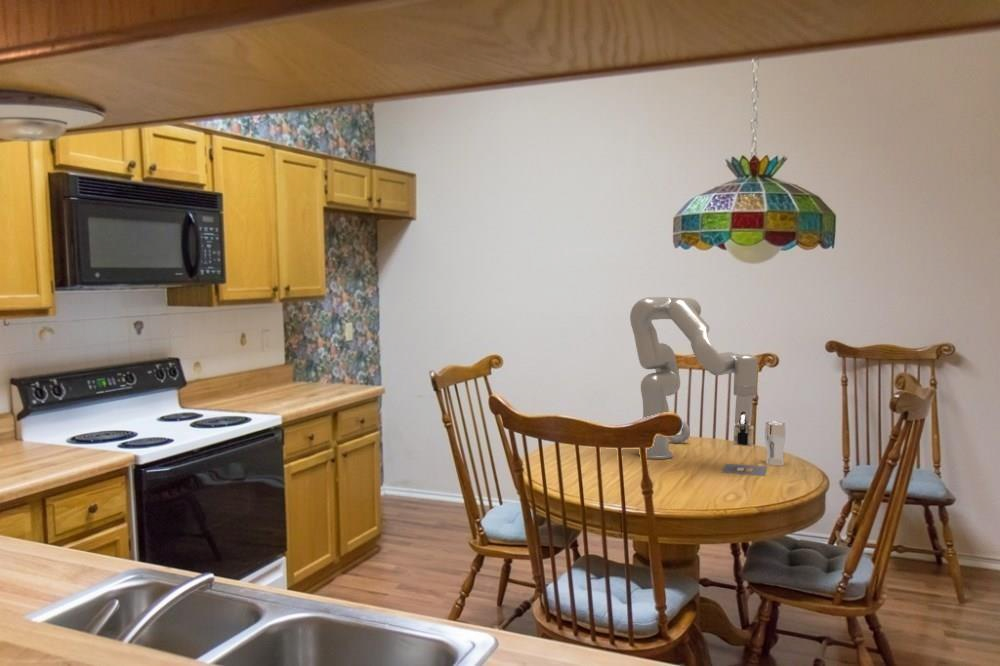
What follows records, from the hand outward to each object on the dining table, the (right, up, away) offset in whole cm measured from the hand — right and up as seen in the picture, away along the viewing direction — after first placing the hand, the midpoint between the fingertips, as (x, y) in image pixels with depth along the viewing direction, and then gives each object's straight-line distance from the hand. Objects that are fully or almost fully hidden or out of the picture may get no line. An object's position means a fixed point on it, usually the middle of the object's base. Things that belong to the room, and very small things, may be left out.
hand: (743, 441), depth 258 cm
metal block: (0, -1, 0) cm, 1 cm away
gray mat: (+1, -10, 0) cm, 10 cm away
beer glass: (+14, -10, +9) cm, 19 cm away
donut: (-12, -8, +47) cm, 49 cm away
